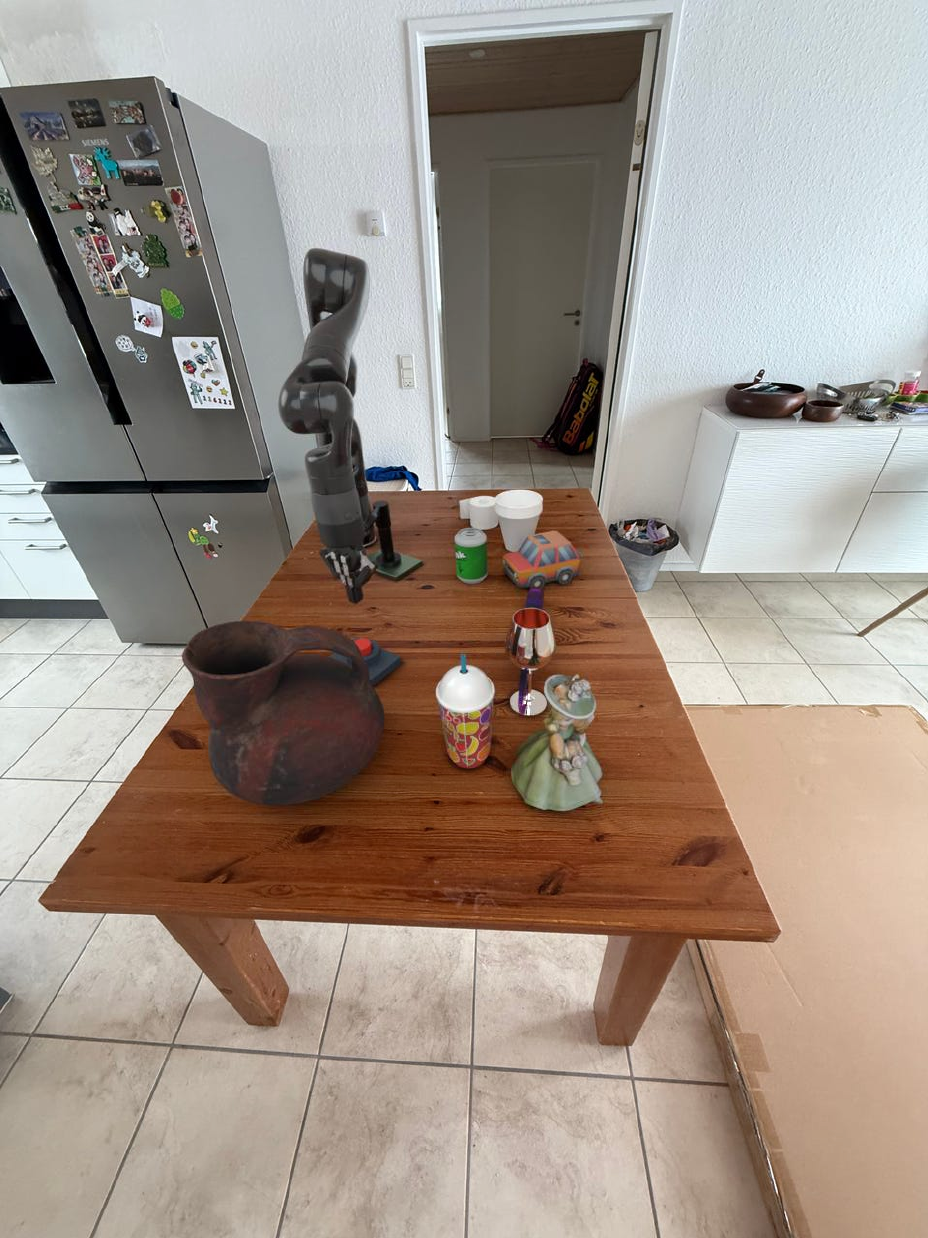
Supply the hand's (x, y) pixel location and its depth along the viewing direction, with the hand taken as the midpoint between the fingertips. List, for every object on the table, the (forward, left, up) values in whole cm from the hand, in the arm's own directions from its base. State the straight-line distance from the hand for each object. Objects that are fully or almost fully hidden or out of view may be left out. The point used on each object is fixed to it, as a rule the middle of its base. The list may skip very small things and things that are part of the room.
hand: (356, 600), depth 94 cm
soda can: (0, +36, -14) cm, 39 cm away
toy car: (+14, +45, -14) cm, 49 cm away
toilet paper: (-17, +64, -14) cm, 68 cm away
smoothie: (+31, -9, -14) cm, 35 cm away
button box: (+1, -2, -13) cm, 13 cm away
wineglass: (+33, +6, -14) cm, 36 cm away
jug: (+11, -24, -14) cm, 30 cm away
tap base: (-22, +30, -13) cm, 40 cm away
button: (+1, -2, -10) cm, 10 cm away
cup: (+1, +56, -14) cm, 58 cm away
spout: (-19, +25, -2) cm, 32 cm away
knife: (+27, +18, -13) cm, 35 cm away
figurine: (+45, -7, -14) cm, 48 cm away
